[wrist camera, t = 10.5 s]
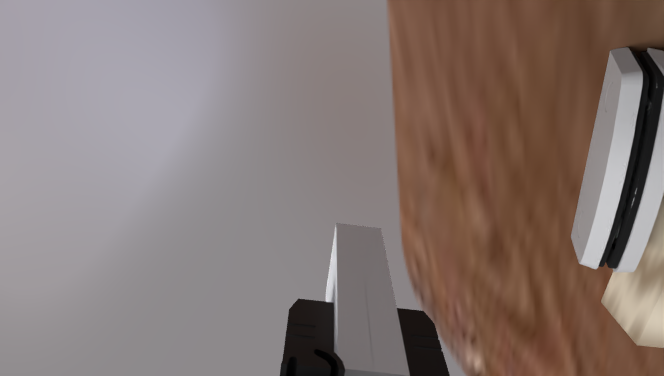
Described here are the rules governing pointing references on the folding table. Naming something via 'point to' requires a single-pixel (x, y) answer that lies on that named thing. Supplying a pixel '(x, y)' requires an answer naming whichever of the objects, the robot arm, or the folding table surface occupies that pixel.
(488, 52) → the folding table surface
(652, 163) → the white black rounded case
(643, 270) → the bench stop
